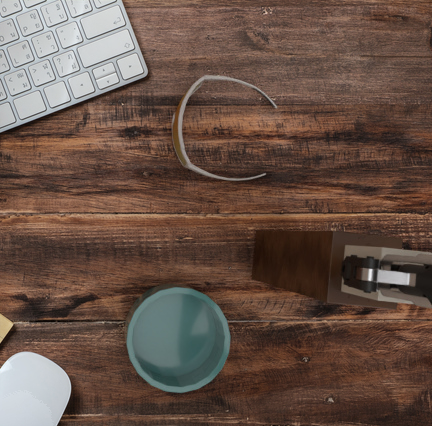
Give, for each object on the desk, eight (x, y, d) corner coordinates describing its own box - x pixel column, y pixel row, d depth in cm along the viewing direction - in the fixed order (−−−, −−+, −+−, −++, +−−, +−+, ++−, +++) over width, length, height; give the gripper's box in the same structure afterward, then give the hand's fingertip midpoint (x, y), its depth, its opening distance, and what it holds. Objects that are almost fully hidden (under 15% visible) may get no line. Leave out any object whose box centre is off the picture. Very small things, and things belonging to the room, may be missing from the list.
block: (385, 296, 47) (429, 305, 41) (340, 291, 46) (377, 300, 40) (389, 249, 47) (433, 252, 41) (344, 244, 47) (382, 247, 41)
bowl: (215, 384, 68) (225, 397, 63) (119, 375, 67) (121, 387, 62) (224, 288, 68) (235, 293, 63) (129, 278, 68) (132, 282, 63)
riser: (299, 284, 68) (397, 310, 47) (251, 279, 68) (326, 302, 46) (303, 235, 69) (403, 238, 47) (256, 230, 68) (333, 230, 47)
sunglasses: (176, 73, 69) (187, 62, 64) (271, 96, 71) (290, 88, 66) (159, 170, 68) (169, 166, 63) (255, 190, 71) (273, 188, 66)
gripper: (419, 349, 28) (295, 303, 45) (653, 372, 28) (442, 318, 45) (430, 220, 28) (302, 224, 45) (661, 246, 29) (449, 240, 46)
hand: (373, 271), depth 45 cm, fingers closed on block, 4 cm apart
